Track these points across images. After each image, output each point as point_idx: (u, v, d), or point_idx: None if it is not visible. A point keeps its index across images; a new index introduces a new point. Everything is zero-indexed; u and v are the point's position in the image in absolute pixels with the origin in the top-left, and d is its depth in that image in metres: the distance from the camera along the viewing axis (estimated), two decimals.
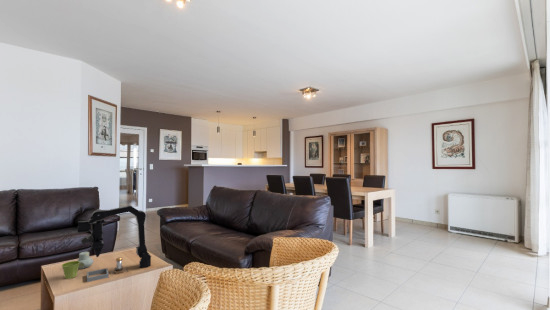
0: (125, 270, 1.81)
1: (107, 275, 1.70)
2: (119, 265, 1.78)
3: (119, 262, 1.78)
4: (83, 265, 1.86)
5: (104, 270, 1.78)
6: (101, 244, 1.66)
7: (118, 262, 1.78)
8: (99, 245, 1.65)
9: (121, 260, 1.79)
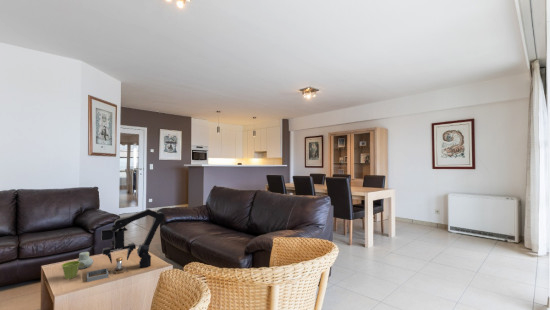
0: (125, 270, 1.81)
1: (107, 275, 1.70)
2: (119, 265, 1.78)
3: (119, 262, 1.78)
4: (83, 265, 1.86)
5: (104, 270, 1.78)
6: (103, 252, 1.72)
7: (118, 262, 1.78)
8: None
9: (121, 260, 1.79)
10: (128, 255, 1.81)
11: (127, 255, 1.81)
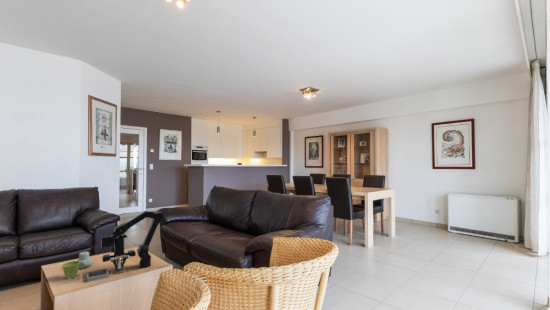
0: (125, 270, 1.81)
1: (107, 275, 1.70)
2: (119, 265, 1.78)
3: (119, 262, 1.78)
4: (83, 265, 1.86)
5: (104, 270, 1.78)
6: (102, 259, 1.72)
7: (118, 262, 1.78)
8: (102, 259, 1.73)
9: (121, 260, 1.79)
10: (123, 263, 1.79)
11: (122, 263, 1.79)
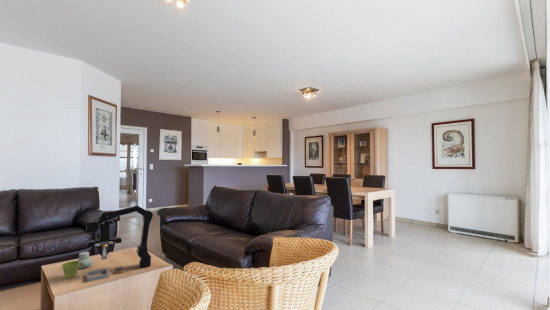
0: (125, 270, 1.81)
1: (107, 275, 1.70)
2: (104, 251, 1.73)
3: (104, 248, 1.73)
4: (83, 265, 1.86)
5: (104, 270, 1.78)
6: (87, 244, 1.67)
7: (103, 248, 1.73)
8: (87, 245, 1.68)
9: (106, 246, 1.74)
10: (108, 250, 1.74)
11: (107, 250, 1.75)
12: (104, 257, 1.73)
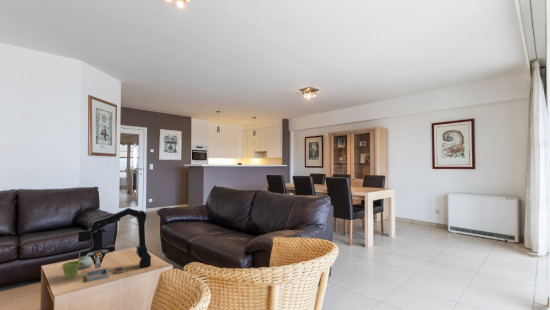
0: (125, 270, 1.81)
1: (107, 275, 1.70)
2: (98, 260, 1.71)
3: (97, 257, 1.71)
4: (83, 265, 1.86)
5: (104, 270, 1.78)
6: None
7: (96, 257, 1.71)
8: None
9: (100, 255, 1.72)
10: (102, 258, 1.72)
11: (101, 258, 1.73)
12: (98, 266, 1.71)
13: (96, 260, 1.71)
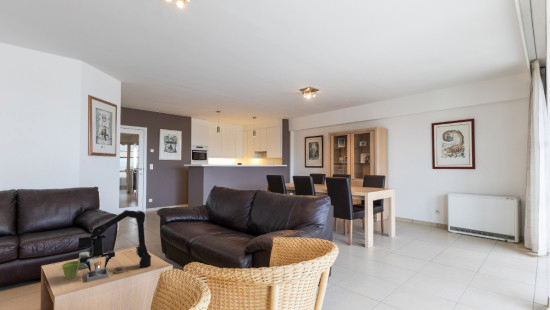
0: (125, 270, 1.81)
1: (107, 275, 1.70)
2: (97, 270, 1.71)
3: (97, 267, 1.71)
4: (83, 265, 1.86)
5: (104, 270, 1.78)
6: None
7: (96, 267, 1.70)
8: None
9: (99, 264, 1.72)
10: (105, 263, 1.73)
11: (105, 263, 1.74)
12: None
13: (96, 270, 1.70)
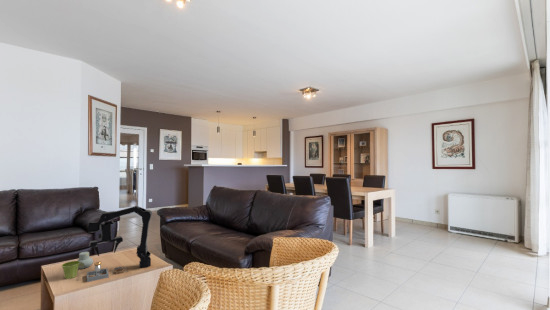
0: (125, 270, 1.81)
1: (107, 275, 1.70)
2: (97, 270, 1.71)
3: (97, 267, 1.71)
4: (83, 265, 1.86)
5: (104, 270, 1.78)
6: (90, 245, 1.74)
7: (96, 267, 1.71)
8: None
9: (100, 264, 1.72)
10: (115, 248, 1.83)
11: (114, 248, 1.84)
12: None
13: (96, 270, 1.71)
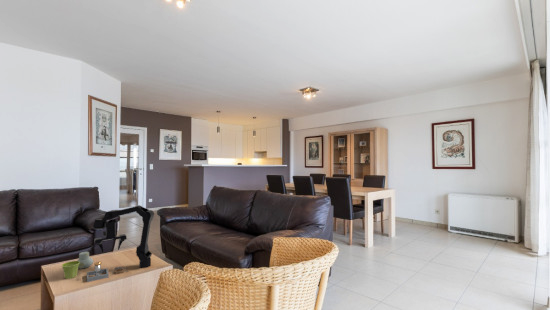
0: (125, 270, 1.81)
1: (107, 275, 1.70)
2: (97, 270, 1.71)
3: (97, 267, 1.71)
4: (83, 265, 1.86)
5: (104, 270, 1.78)
6: None
7: (96, 267, 1.71)
8: None
9: (100, 264, 1.72)
10: (119, 245, 1.88)
11: (118, 245, 1.89)
12: None
13: (96, 270, 1.71)
